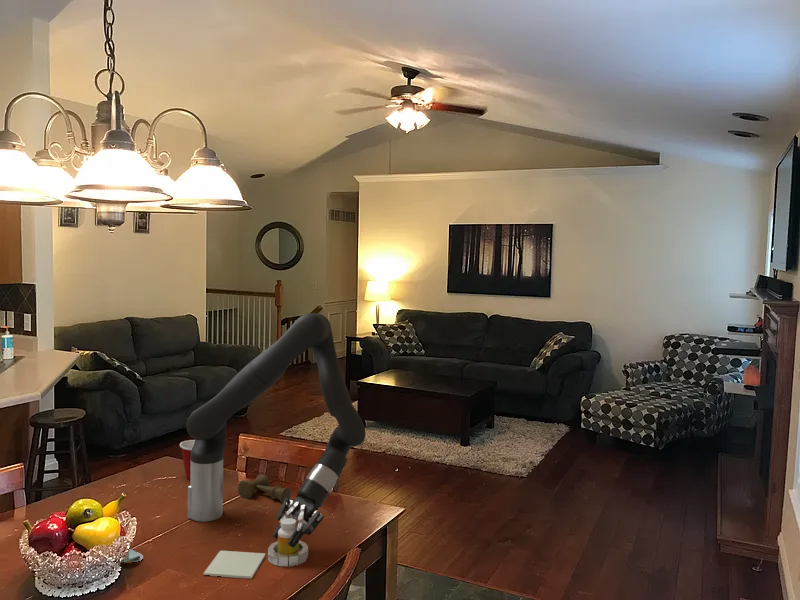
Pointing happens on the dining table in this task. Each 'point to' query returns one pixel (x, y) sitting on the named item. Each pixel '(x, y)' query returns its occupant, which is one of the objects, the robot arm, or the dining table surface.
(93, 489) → the dining table surface
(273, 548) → the white segmented ring
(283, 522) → the supplement bottle
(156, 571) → the dining table surface
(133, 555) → the pacifier
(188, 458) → the plastic cup
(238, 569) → the sage mat
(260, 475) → the kendama
